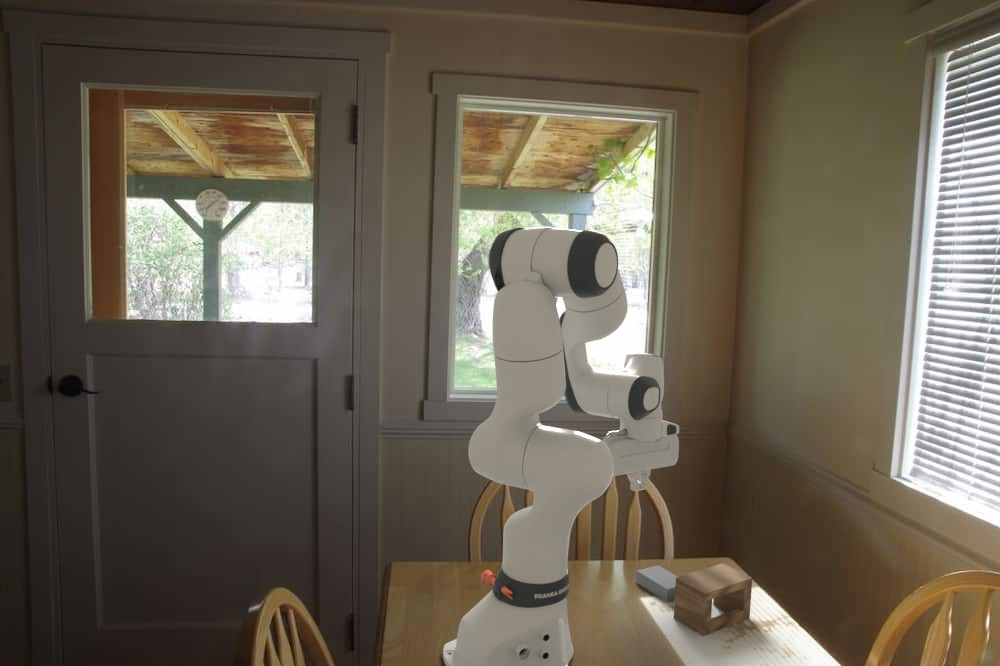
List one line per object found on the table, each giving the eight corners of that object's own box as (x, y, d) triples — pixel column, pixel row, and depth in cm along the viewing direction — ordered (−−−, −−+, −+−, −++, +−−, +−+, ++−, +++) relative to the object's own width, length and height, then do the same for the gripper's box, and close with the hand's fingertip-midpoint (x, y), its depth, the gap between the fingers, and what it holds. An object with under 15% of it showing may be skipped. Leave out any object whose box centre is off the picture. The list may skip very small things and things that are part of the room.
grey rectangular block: (666, 603, 128) (667, 589, 128) (636, 584, 136) (636, 570, 136) (688, 597, 131) (689, 583, 131) (657, 578, 139) (657, 565, 138)
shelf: (702, 636, 116) (705, 593, 115) (673, 618, 122) (675, 577, 121) (749, 618, 123) (752, 577, 122) (720, 601, 129) (722, 563, 128)
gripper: (613, 435, 130) (610, 502, 131) (685, 425, 140) (681, 487, 142) (593, 428, 135) (591, 492, 136) (663, 419, 146) (660, 479, 147)
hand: (637, 489), depth 139 cm, fingers closed
